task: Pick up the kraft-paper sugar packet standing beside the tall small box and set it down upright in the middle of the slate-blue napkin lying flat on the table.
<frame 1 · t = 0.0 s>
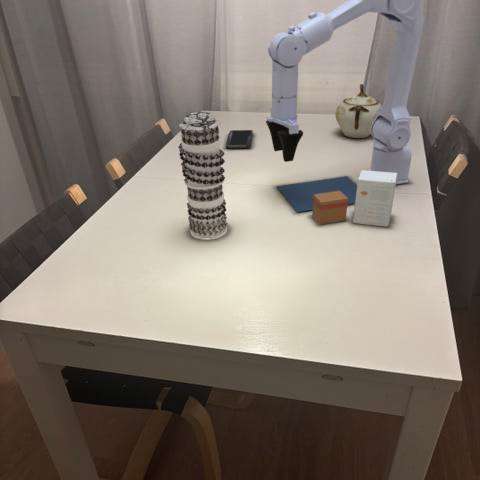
hand: (283, 155, 115), 10 cm above the table, tool pointing down, fingers open, 7 cm apart
sugar bowl: (356, 134, 156), on the table
phone: (240, 141, 155), on the table
napkin: (323, 194, 121), on the table
small box: (371, 220, 109), on the table
packet: (328, 218, 110), on the table
decorative candle: (208, 231, 108), on the table
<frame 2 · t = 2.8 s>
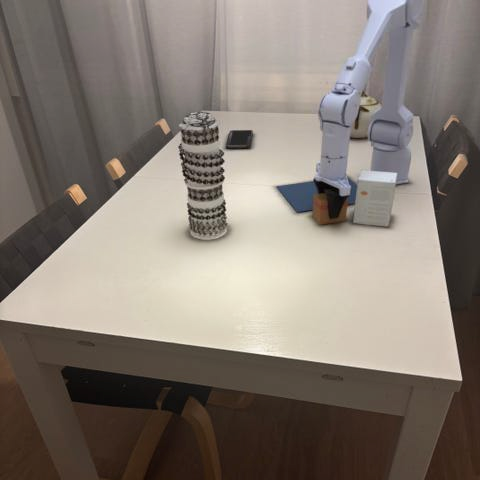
hand: (329, 212, 109), 1 cm above the table, tool pointing down, fingers closed on packet, 4 cm apart
packet: (328, 218, 110), on the table, touching gripper
everything else where it was.
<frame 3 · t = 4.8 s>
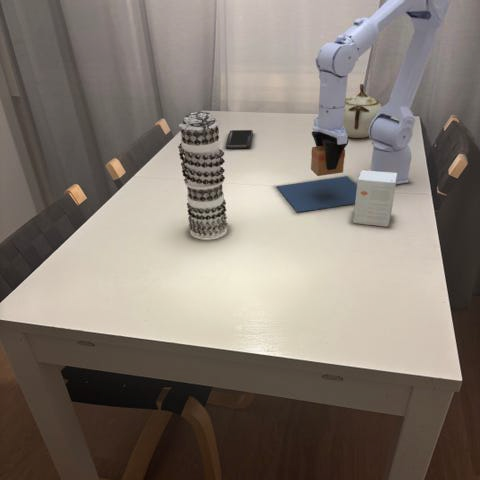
hand: (327, 165, 113), 8 cm above the table, tool pointing down, fingers closed on packet, 4 cm apart
packet: (326, 171, 114), point 7 cm above the table, touching gripper
everything else where it was.
when the fingers open (2 cm above the table, at t = 7.2 s): packet stays where it is, resting on napkin.
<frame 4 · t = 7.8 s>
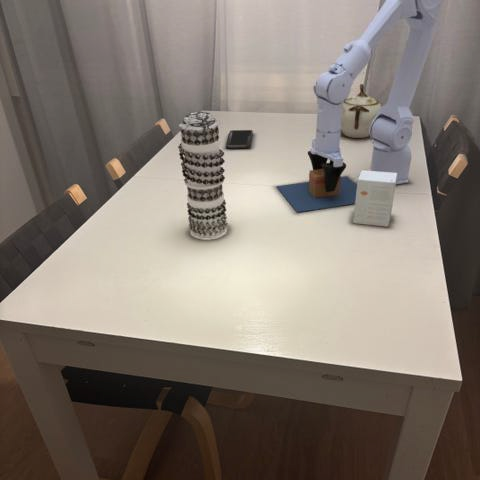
hand: (324, 185, 119), 2 cm above the table, tool pointing down, fingers open, 7 cm apart
packet: (323, 192, 120), resting on napkin
everything else where it was.
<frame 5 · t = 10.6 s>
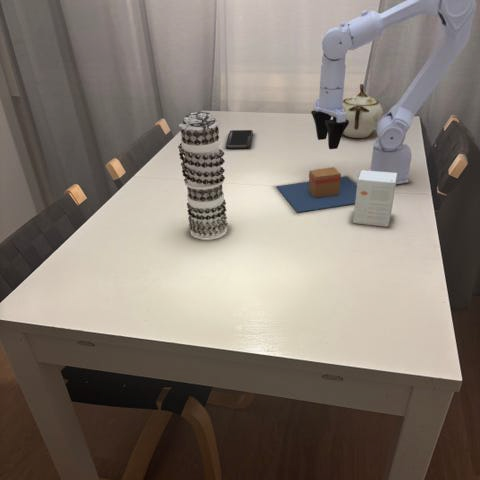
hand: (327, 143, 122), 9 cm above the table, tool pointing down, fingers open, 7 cm apart
nothing on the table moved.
at the end: packet inside the target area on the napkin (0.0 cm from its centre), point 0.3 cm above the napkin's base; packet tilted 0°; packet touching napkin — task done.
